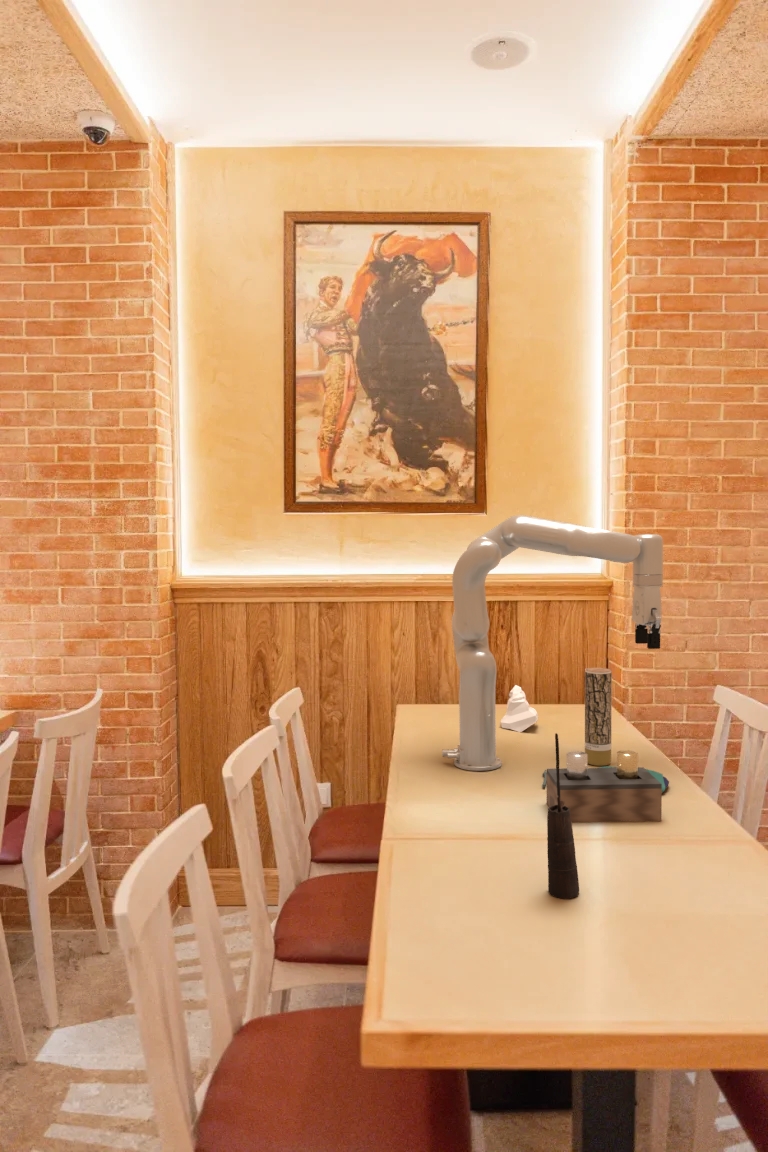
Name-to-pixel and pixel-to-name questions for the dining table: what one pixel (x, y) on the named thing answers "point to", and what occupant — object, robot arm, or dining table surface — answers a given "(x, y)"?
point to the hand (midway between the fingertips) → (647, 645)
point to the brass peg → (627, 765)
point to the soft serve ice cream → (518, 711)
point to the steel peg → (576, 765)
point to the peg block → (607, 796)
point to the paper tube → (598, 716)
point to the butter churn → (561, 847)
